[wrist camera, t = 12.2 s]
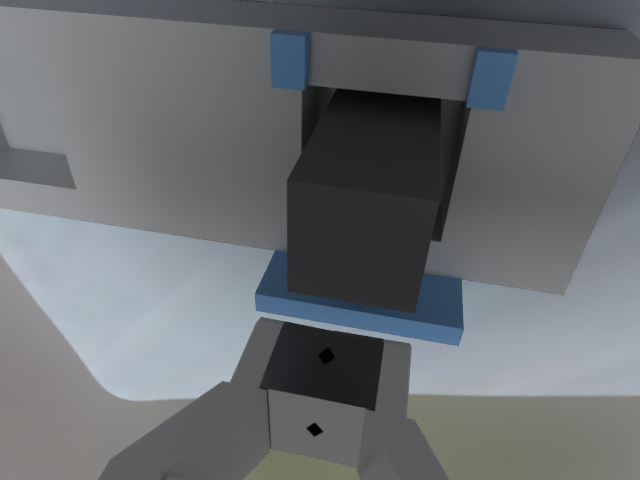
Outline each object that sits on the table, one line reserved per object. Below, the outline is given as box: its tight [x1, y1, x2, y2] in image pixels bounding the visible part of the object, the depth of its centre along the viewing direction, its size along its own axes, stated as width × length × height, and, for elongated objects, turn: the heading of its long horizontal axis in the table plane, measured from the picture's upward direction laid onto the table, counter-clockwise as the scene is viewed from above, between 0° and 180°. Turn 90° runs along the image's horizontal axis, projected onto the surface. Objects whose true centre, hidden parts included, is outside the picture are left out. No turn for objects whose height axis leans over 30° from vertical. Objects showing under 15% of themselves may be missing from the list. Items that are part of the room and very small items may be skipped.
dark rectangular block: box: [287, 88, 441, 313], centre depth 15 cm, size 4×4×7 cm
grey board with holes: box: [0, 0, 640, 346], centre depth 17 cm, size 9×26×6 cm, turn 88°
